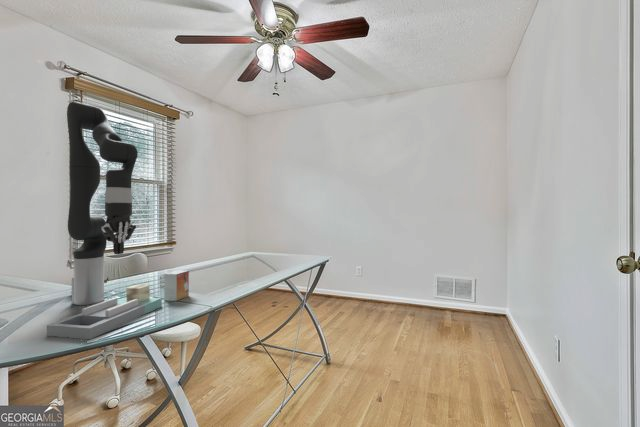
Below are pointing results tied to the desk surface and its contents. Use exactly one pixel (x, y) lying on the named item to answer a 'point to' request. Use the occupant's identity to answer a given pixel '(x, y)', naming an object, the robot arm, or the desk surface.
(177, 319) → the desk surface
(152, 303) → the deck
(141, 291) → the block
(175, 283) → the small box
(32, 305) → the desk surface
